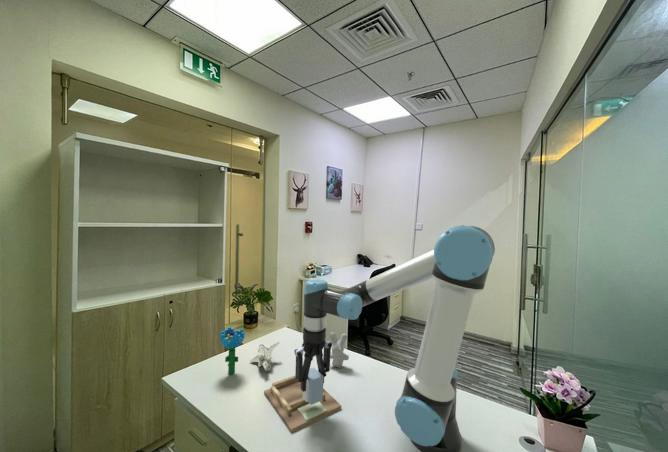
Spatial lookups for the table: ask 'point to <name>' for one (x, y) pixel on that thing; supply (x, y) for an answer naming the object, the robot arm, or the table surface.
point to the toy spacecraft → (264, 356)
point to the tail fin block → (315, 386)
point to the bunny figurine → (338, 350)
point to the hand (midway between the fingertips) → (312, 396)
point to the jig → (298, 404)
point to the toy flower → (231, 346)
